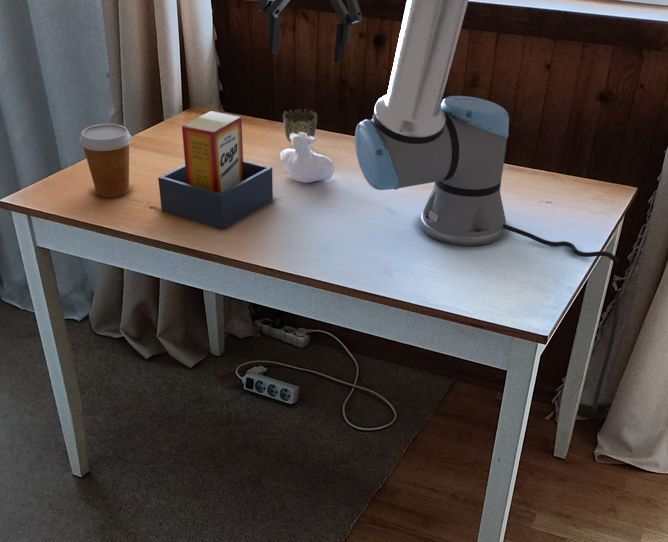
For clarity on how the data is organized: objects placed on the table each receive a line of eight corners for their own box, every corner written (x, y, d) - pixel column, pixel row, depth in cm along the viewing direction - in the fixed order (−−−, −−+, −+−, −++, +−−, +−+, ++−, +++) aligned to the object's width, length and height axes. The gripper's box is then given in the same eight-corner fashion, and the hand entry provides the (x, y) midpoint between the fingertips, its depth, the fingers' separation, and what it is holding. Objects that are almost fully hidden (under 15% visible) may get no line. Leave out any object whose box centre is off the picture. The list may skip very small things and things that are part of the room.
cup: (282, 144, 189) (281, 108, 185) (315, 143, 190) (315, 108, 186) (284, 156, 183) (283, 120, 179) (318, 155, 184) (318, 119, 179)
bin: (273, 199, 165) (272, 167, 161) (222, 229, 154) (220, 195, 150) (213, 182, 171) (211, 151, 167) (161, 210, 160) (158, 177, 156)
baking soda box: (215, 189, 167) (210, 108, 158) (244, 195, 165) (241, 114, 156) (188, 207, 160) (181, 124, 151) (218, 214, 158) (213, 130, 149)
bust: (279, 183, 177) (261, 153, 166) (293, 153, 178) (276, 121, 168) (331, 195, 172) (315, 165, 162) (345, 164, 174) (330, 132, 164)
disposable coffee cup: (110, 205, 161) (101, 144, 155) (77, 192, 166) (67, 132, 159) (147, 189, 168) (141, 130, 161) (115, 177, 172) (107, 119, 166)
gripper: (388, -60, 151) (374, 65, 158) (265, -69, 160) (256, 51, 167) (373, -66, 144) (358, 65, 152) (245, -75, 153) (237, 49, 160)
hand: (305, 58), depth 159 cm, fingers open, 13 cm apart
